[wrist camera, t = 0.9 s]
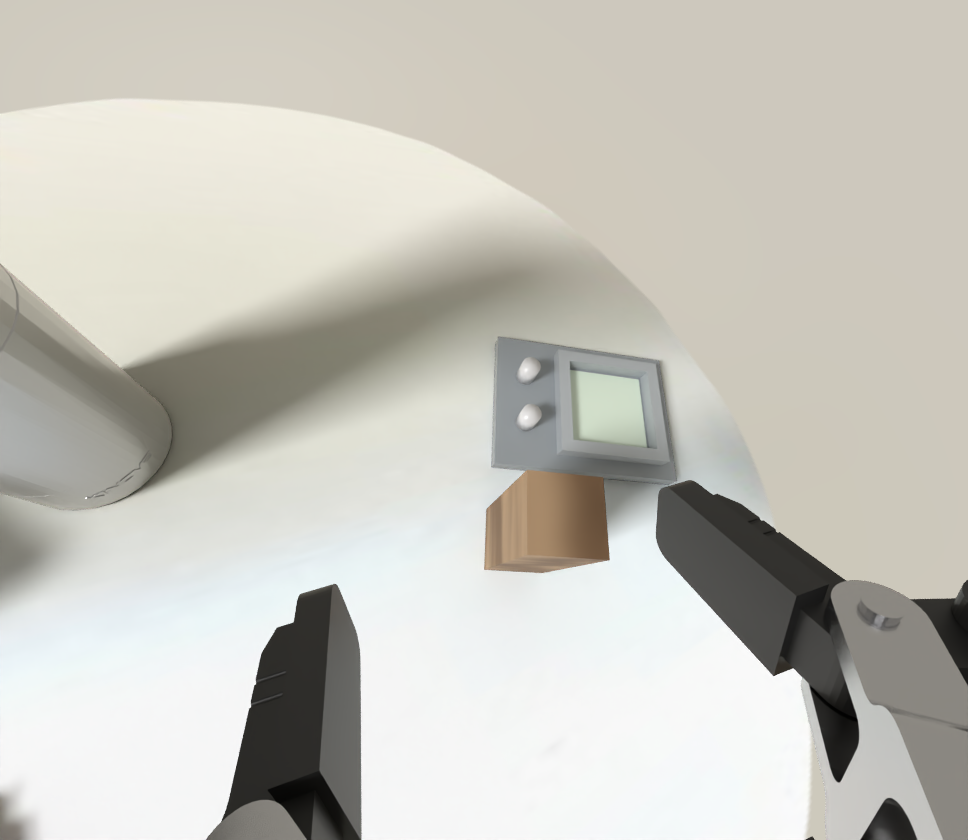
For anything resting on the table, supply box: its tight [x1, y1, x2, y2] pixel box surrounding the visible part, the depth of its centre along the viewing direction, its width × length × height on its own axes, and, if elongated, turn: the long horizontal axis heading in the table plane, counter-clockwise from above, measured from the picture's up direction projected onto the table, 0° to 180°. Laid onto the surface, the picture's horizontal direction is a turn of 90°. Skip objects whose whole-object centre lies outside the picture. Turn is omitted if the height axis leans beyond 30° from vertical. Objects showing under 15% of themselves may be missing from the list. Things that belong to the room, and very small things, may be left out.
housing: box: [491, 337, 677, 485], centre depth 37 cm, size 16×12×3 cm
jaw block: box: [484, 470, 610, 573], centre depth 28 cm, size 4×4×11 cm
